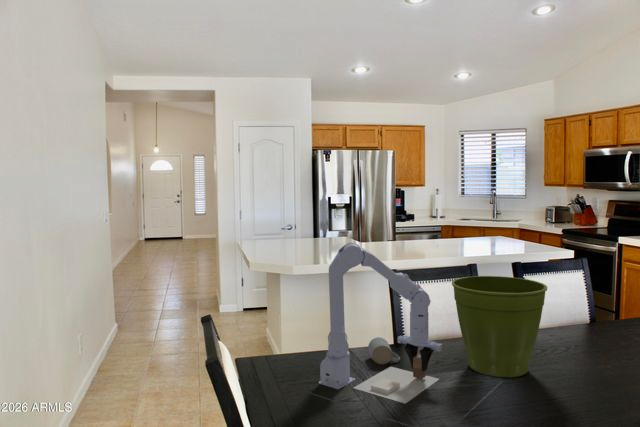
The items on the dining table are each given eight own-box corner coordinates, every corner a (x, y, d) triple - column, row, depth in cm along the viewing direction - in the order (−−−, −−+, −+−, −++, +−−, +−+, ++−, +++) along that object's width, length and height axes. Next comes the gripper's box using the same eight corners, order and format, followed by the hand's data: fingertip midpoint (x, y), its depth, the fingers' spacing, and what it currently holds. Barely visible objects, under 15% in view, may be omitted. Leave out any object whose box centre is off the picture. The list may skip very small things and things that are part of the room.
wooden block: (421, 379, 155) (421, 358, 155) (413, 376, 157) (413, 356, 157) (426, 376, 158) (426, 355, 157) (417, 373, 159) (417, 354, 159)
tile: (400, 386, 152) (388, 394, 146) (383, 382, 155) (370, 389, 150) (400, 382, 152) (388, 390, 146) (383, 378, 155) (370, 385, 150)
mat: (405, 404, 140) (405, 403, 140) (352, 389, 151) (352, 387, 151) (439, 380, 157) (439, 378, 157) (390, 367, 168) (390, 366, 168)
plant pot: (551, 391, 148) (552, 295, 146) (448, 379, 157) (448, 290, 156) (541, 357, 176) (542, 277, 174) (454, 349, 185) (454, 273, 184)
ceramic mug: (372, 366, 170) (372, 344, 169) (367, 358, 178) (368, 337, 177) (402, 365, 171) (402, 343, 170) (396, 357, 179) (397, 336, 178)
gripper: (446, 327, 155) (446, 370, 156) (405, 320, 164) (405, 360, 165) (436, 333, 149) (436, 377, 150) (394, 325, 158) (394, 366, 159)
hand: (419, 369), depth 157 cm, fingers closed on wooden block, 3 cm apart
